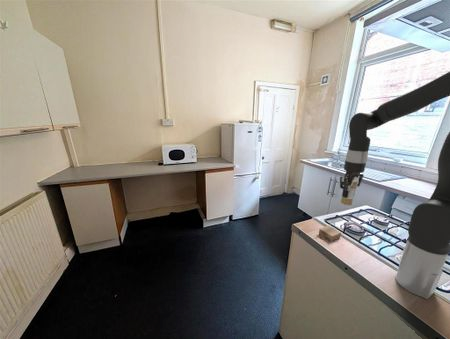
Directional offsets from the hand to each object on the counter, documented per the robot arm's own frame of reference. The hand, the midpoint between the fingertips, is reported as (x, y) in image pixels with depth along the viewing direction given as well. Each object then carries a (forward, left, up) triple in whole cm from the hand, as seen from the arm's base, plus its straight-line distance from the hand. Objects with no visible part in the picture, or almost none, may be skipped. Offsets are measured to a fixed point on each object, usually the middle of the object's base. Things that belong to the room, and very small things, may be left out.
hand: (347, 196), depth 83 cm
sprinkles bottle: (0, 0, -4) cm, 4 cm away
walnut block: (+4, +1, -24) cm, 24 cm away
